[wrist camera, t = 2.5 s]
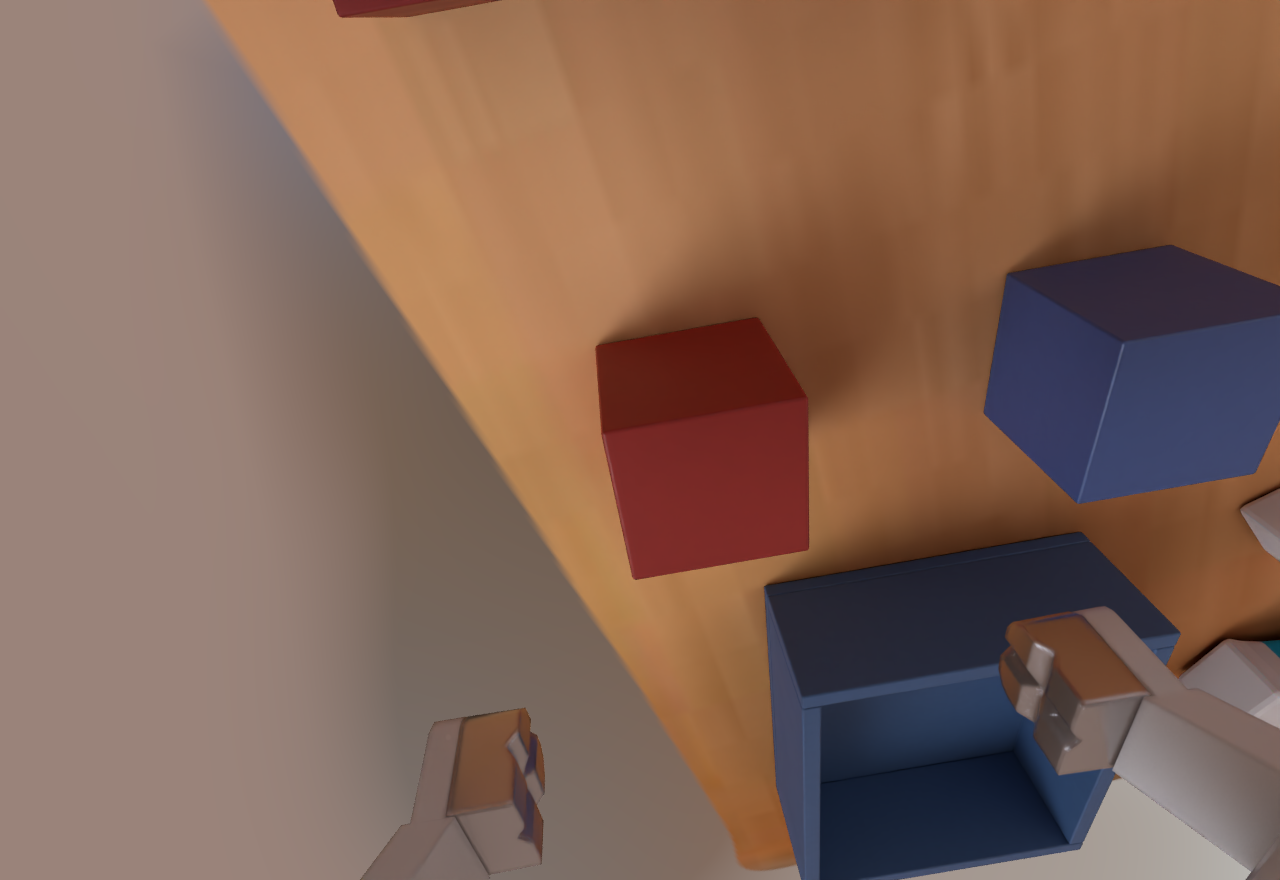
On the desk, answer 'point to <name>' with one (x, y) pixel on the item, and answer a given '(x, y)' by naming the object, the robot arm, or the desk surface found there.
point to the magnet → (1247, 670)
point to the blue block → (1137, 371)
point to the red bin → (398, 7)
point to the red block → (704, 447)
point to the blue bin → (929, 710)
